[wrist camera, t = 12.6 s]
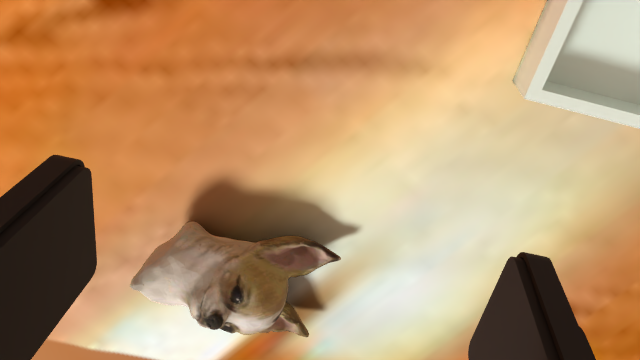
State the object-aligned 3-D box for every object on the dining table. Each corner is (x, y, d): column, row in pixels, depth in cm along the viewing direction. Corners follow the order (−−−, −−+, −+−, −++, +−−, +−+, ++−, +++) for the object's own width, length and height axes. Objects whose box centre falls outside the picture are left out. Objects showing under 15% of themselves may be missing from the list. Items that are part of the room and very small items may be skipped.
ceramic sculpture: (128, 245, 35) (341, 303, 36) (169, 180, 42) (344, 230, 44) (113, 349, 40) (299, 396, 42) (152, 274, 48) (308, 317, 49)
